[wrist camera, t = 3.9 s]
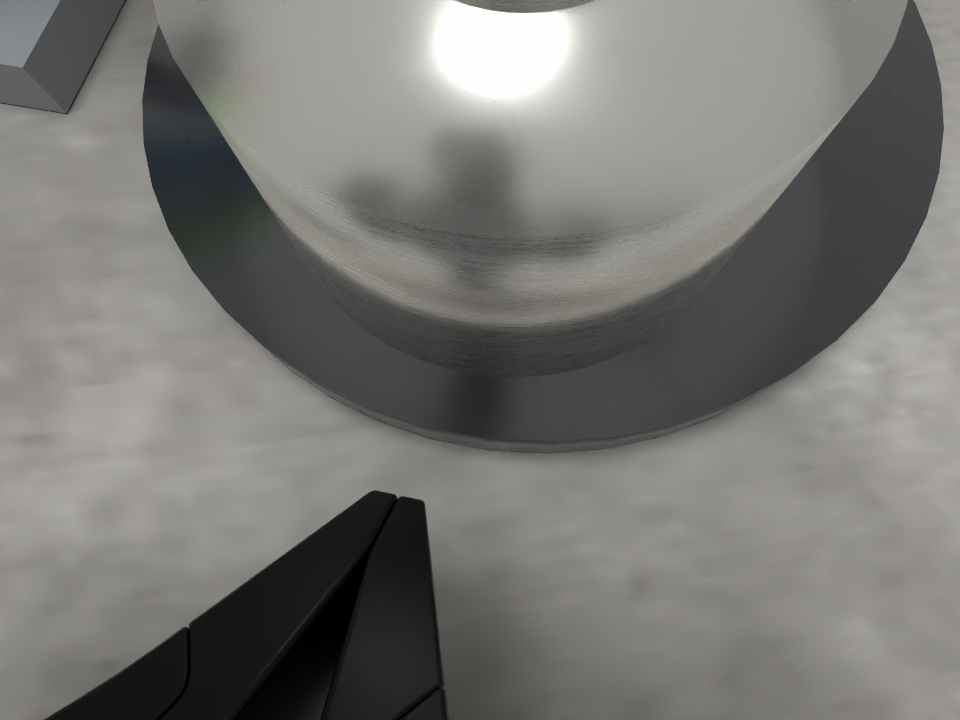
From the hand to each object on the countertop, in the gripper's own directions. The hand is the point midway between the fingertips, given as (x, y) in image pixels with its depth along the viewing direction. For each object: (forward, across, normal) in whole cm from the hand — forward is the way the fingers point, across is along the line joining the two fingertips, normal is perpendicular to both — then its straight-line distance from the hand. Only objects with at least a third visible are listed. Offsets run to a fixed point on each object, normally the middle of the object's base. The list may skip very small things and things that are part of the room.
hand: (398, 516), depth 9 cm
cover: (+11, 0, -4) cm, 11 cm away
